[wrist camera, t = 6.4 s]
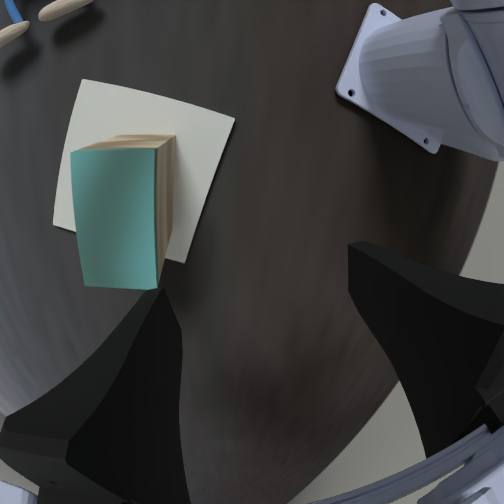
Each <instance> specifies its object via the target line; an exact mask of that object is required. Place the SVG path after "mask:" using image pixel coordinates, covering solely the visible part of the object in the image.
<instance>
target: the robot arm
mask: <svg viewBox="0 0 504 504" xmlns="http://www.w3.org/2000/svg"><path fill="white" fill-rule="evenodd" d="M450 2H451V3H452V5H453V6H454V7H450V8H445V9H441V10H437V11H433V12H429V13H425V14H421V15H418V16H414V17H411V18H407V19H404V20H401V19H400V18H398V17H397V16H395V15H394V14H392V13H391V12H390V11H388V10H387V9H385V8H384V7H382V6H381V5H379V4H377V3H373V4H371V5H370V6H369V7H368V10H367V12H366V15H365V17H364V20H363V22H362V25H361V27H360V30H359V32H358V34H357V37H356V39H355V42H354V44H353V47H352V49H351V52H350V54H349V56H348V59H347V61H346V64H345V66H344V68H343V71H342V73H341V76H340V78H339V81H338V83H337V85H336V92H337V94H338V95H339V96H341V97H343V98H344V99H346V100H348V101H350V102H352V103H354V104H355V105H357V106H359V107H361V108H362V109H364V110H366V111H368V112H369V113H371V114H373V115H374V116H376V117H378V118H379V119H381V120H382V121H384V122H386V123H387V124H389V125H390V126H392V127H394V128H395V129H397V130H398V131H400V132H401V133H403V134H404V135H406V136H407V137H409V138H410V139H412V140H413V141H414V142H416V143H417V144H419V145H420V146H422V147H423V148H424V149H426V150H427V151H428V152H430V153H433V154H435V153H437V152H438V150H439V147H440V145H441V144H443V145H446V146H450V147H453V148H456V149H460V150H463V151H466V152H469V153H472V154H475V155H478V156H481V157H483V158H486V159H489V160H493V161H504V0H450ZM380 11H381V12H382V13H383V14H384V16H382V15H381V13H380ZM349 90H351V91H352V93H353V94H352V96H351V97H350V96H349V95H348V91H349ZM424 139H426V142H425V143H424ZM348 291H349V293H350V295H351V298H352V300H353V302H354V304H355V306H356V308H357V310H358V312H359V314H360V315H361V317H362V318H363V320H364V321H365V323H366V324H367V326H368V327H369V329H370V330H371V332H372V333H373V335H374V336H375V338H376V339H377V341H378V342H379V344H380V345H381V347H382V348H383V350H384V352H385V353H386V355H387V356H388V358H389V360H390V361H391V363H392V365H393V367H394V369H395V371H396V373H397V376H398V378H399V380H400V382H401V384H402V387H403V389H404V391H405V393H406V396H407V399H408V401H409V403H410V406H411V409H412V412H413V414H414V417H415V420H416V423H417V426H418V429H419V433H420V436H421V440H422V443H423V447H424V451H425V455H426V459H425V460H424V461H422V462H419V463H417V464H415V465H413V466H412V467H409V468H407V469H405V470H403V471H401V472H399V473H396V474H394V475H392V476H389V477H387V478H385V479H382V480H380V481H377V482H374V483H372V484H369V485H367V486H364V487H361V488H358V489H355V490H353V491H350V492H347V493H344V494H340V495H337V496H334V497H330V498H327V499H323V500H320V501H316V502H312V503H308V504H388V503H391V502H393V501H395V500H398V499H400V498H402V497H404V496H407V495H409V494H411V493H413V492H415V491H417V490H419V489H421V488H422V487H425V486H427V485H428V484H430V483H432V482H434V481H436V480H438V479H439V478H441V477H443V476H445V475H446V474H448V473H450V472H451V471H453V470H455V469H456V468H458V467H460V466H461V465H463V464H464V463H465V464H464V467H462V468H461V469H460V470H458V471H456V472H455V473H454V474H452V475H451V476H449V477H448V478H446V479H444V480H443V481H441V482H440V483H439V484H438V485H437V487H435V489H433V490H432V491H431V492H429V493H428V494H426V495H425V496H423V497H422V498H420V499H419V500H418V501H417V504H504V284H498V283H491V282H485V281H480V280H475V279H470V278H465V277H462V276H458V275H454V274H451V273H447V272H444V271H441V270H438V269H435V268H432V267H429V266H426V265H424V264H421V263H418V262H416V261H413V260H411V259H408V258H406V257H403V256H401V255H399V254H396V253H394V252H391V251H389V250H387V249H384V248H382V247H379V246H377V245H374V244H371V243H368V242H365V241H361V242H356V243H352V244H348ZM182 356H183V350H182V331H181V328H180V326H179V323H178V321H177V319H176V316H175V314H174V311H173V309H172V307H171V304H170V302H169V299H168V297H167V295H166V292H165V290H164V287H159V288H154V289H150V290H147V291H146V292H145V293H144V294H143V295H142V296H141V298H140V299H139V300H138V301H137V302H136V304H135V305H134V306H133V307H132V309H131V310H130V311H129V312H128V314H127V315H126V316H125V317H124V319H123V320H122V321H121V322H120V324H119V325H118V326H117V327H116V328H115V329H114V331H113V332H112V333H111V334H110V335H109V336H108V338H107V339H106V340H105V341H104V342H103V343H102V345H101V346H100V347H99V348H98V349H97V350H96V351H95V352H94V353H93V354H92V355H91V356H90V357H89V358H88V359H87V360H86V361H85V362H84V363H83V364H82V365H81V366H80V367H78V368H77V369H76V370H75V371H74V372H73V373H71V374H70V375H69V376H68V377H67V378H65V379H64V380H63V381H62V382H61V383H59V384H58V385H57V386H56V387H54V388H53V389H51V390H50V391H49V392H47V393H46V394H44V395H43V396H41V397H40V398H38V399H37V400H35V401H34V402H32V403H31V404H29V405H27V406H25V407H24V408H22V409H20V410H18V411H16V412H15V413H13V414H11V415H9V416H7V417H6V418H5V421H4V424H3V427H2V429H1V432H0V459H1V460H3V461H4V462H5V463H6V464H7V465H8V466H10V467H11V468H12V469H14V470H15V471H16V472H18V473H19V474H21V475H22V476H24V477H25V478H27V479H28V480H30V481H31V482H33V483H35V484H36V485H38V486H39V487H40V488H39V494H38V496H37V495H35V494H34V493H32V492H30V491H28V490H26V489H24V488H21V487H19V486H16V485H13V484H10V483H8V482H5V481H0V504H191V502H190V498H189V493H188V488H187V483H186V477H185V471H184V465H183V457H182V449H181V440H180V427H179V397H180V383H181V370H182Z"/></svg>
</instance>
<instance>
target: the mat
mask: <svg viewBox="0 0 504 504" xmlns="http://www.w3.org/2000/svg"><path fill="white" fill-rule="evenodd" d="M234 121H235V118H232V117H229V116H226V115H223V114H220V113H217V112H214V111H211V110H208V109H205V108H201V107H198V106H195V105H192V104H188V103H185V102H181V101H178V100H174V99H171V98H167V97H163V96H159V95H155V94H152V93H148V92H143V91H139V90H135V89H131V88H126V87H122V86H117V85H112V84H107V83H102V82H96V81H91V80H85V79H82V82H81V85H80V88H79V91H78V95H77V98H76V102H75V105H74V109H73V112H72V116H71V120H70V124H69V128H68V132H67V137H66V141H65V146H64V151H63V156H62V161H61V166H60V172H59V178H58V185H57V192H56V200H55V208H54V218H53V225H56V226H59V227H62V228H65V229H68V230H72V231H75V232H76V227H75V218H74V209H73V197H72V183H71V162H70V152H73V151H76V150H78V149H81V148H83V147H86V146H89V145H92V144H94V143H97V142H100V141H103V140H106V139H109V138H112V137H115V136H118V135H144V134H162V135H176V139H175V157H174V181H173V229H172V233H171V237H170V240H169V244H168V248H167V252H166V256H165V258H167V259H171V260H175V261H178V262H182V263H185V260H186V257H187V254H188V251H189V248H190V245H191V241H192V238H193V235H194V232H195V229H196V226H197V223H198V220H199V217H200V214H201V211H202V208H203V205H204V202H205V199H206V196H207V193H208V191H209V188H210V185H211V182H212V179H213V176H214V174H215V171H216V168H217V165H218V163H219V160H220V157H221V155H222V152H223V149H224V147H225V144H226V141H227V139H228V136H229V133H230V131H231V128H232V126H233V123H234Z"/></svg>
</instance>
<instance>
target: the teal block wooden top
mask: <svg viewBox="0 0 504 504" xmlns="http://www.w3.org/2000/svg"><path fill="white" fill-rule="evenodd" d="M175 139H176V135H162V134H144V135H118V136H115V137H112V138H109V139H106V140H103V141H100V142H97V143H94V144H92V145H89V146H86V147H83V148H81V149H78V150H76V151H73V152H70V162H71V183H72V197H73V209H74V218H75V227H76V235H77V242H78V249H79V255H80V261H81V267H82V272H83V278H84V283H85V286H95V287H110V288H127V289H146V290H150V289H154V288H158V284H159V280H160V276H161V272H162V267H163V263H164V260H165V256H166V252H167V248H168V244H169V240H170V237H171V233H172V229H173V181H174V157H175Z"/></svg>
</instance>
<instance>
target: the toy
mask: <svg viewBox="0 0 504 504" xmlns="http://www.w3.org/2000/svg"><path fill="white" fill-rule="evenodd" d="M4 1H5V5H6V8H7V11H8V13H9V15H10V16H11V18H12V20H13V22H14V23H15V24H13V25H10V26H8V27H6V28H4V29H2V30H1V31H0V48H1V47H3V46H4V45H6V44H8V43H9V42H11V41H12V40H14V39H15V38H17V37H18V36H20V35H21V34H23V33H24V32H25V31H26V30H27V29H28V27H29V22H28V21H23V19H22V17H21V15H20V13H19V11H18V10H17V8H16V6H15V3H14V0H4ZM92 1H94V0H57V1H55V2H53V3H51V4H49V5H47V6H46V7H44V8H43V9H42V10H41V11H40V12H39V20H40V21H44V22H46V21H50V20H53V19H55V18H58V17H60V16H63V15H65V14H67V13H70V12H72V11H74V10H76V9H79V8H81V7H83V6H85V5H87V4H89V3H91V2H92Z"/></svg>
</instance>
